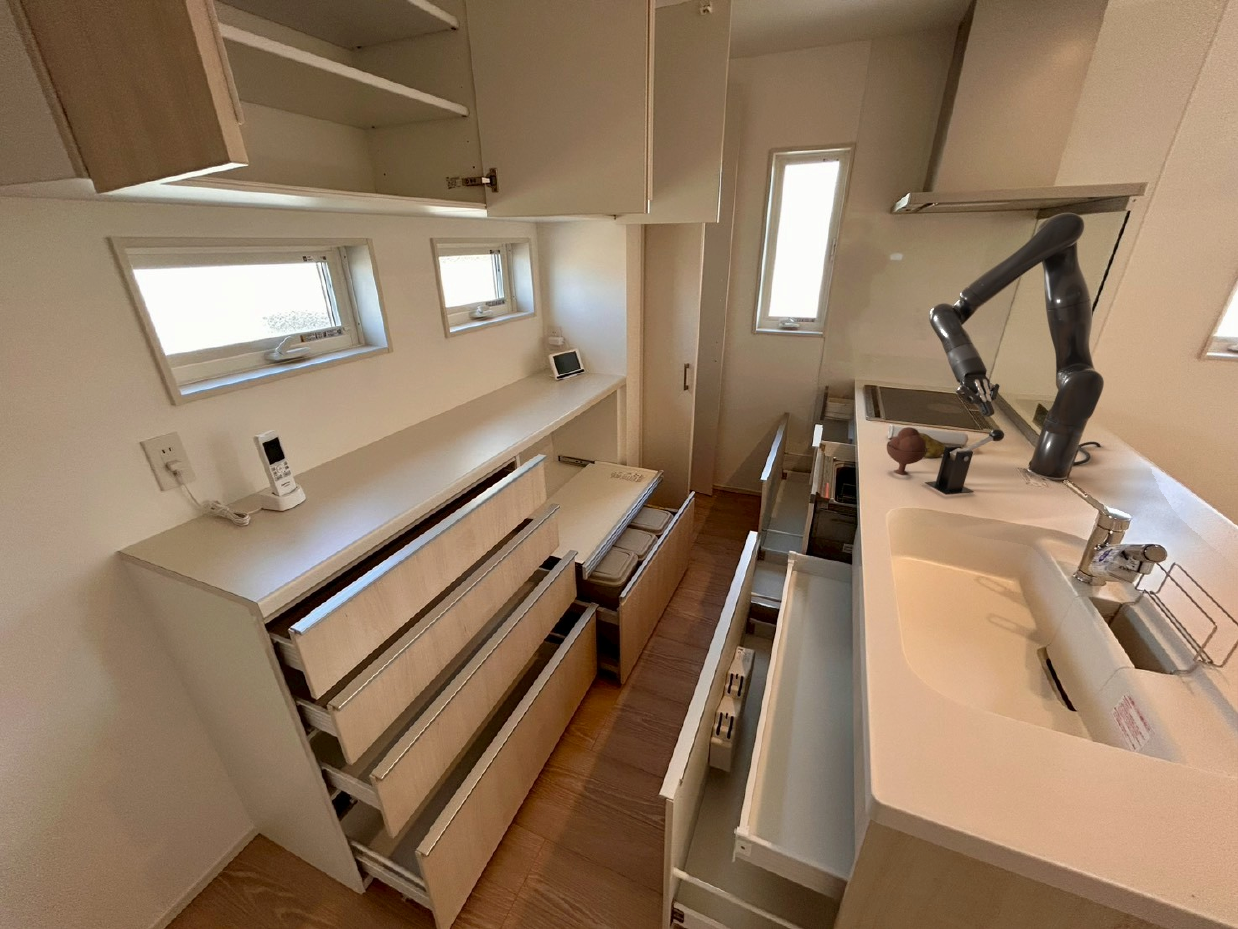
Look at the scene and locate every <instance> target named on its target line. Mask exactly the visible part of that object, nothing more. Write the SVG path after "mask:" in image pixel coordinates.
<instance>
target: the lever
mask: <svg viewBox="0 0 1238 929" xmlns="http://www.w3.org/2000/svg"><path fill="white" fill-rule="evenodd" d="M1004 438H1005V433H1004V431H1003V430H1001V429H998V428H997V429H996V428H995V429H991V431H990V432H989V433H988V436H986V437H985V438H983V439H981V440H979V441H977V442H975V443H972V444H970V445H968V446H967V447H964V448H961V449H960V448H957V449H955V450H953V451H951V452H950V458H951V459H952V460H955V456H956V452H957V451H968V450H971V451H974V450H976V449H978V448H980V447H982V446H984V445H986V444H989V443H991V442H1001V441H1002V440H1003V439H1004Z"/></svg>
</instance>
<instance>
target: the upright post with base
mask: <svg viewBox="0 0 1238 929" xmlns="http://www.w3.org/2000/svg"><path fill="white" fill-rule="evenodd" d="M957 448H960V449H963V446H959V445H957V446H956V445H946V446H945V450H944V454H943V455H942V458H941V462H940V464H939V469H938V473H937V477H936V480H934V481H924V484H926V485H927V486H929V487H931V488H933V489H934V490H936V491H938V492H940V493H942V494H943V495H944V496H945V495H946V496H947V495H957V494H958V495H959V494H968V493H969V494H970V493H974V490H972V489H970V488H968V487H966V486H964V485H965V482H966V479H967V475H968V472H969V469H970V466H971V462H972V458H973V455H974V450H972V451H971V450H968V451H957V452H956V456H955V460H952V459H951V458H950V452H951V451H953V450H955V449H957Z"/></svg>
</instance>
